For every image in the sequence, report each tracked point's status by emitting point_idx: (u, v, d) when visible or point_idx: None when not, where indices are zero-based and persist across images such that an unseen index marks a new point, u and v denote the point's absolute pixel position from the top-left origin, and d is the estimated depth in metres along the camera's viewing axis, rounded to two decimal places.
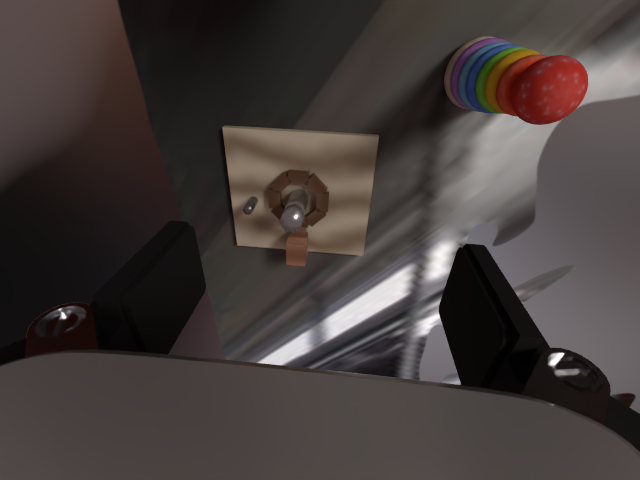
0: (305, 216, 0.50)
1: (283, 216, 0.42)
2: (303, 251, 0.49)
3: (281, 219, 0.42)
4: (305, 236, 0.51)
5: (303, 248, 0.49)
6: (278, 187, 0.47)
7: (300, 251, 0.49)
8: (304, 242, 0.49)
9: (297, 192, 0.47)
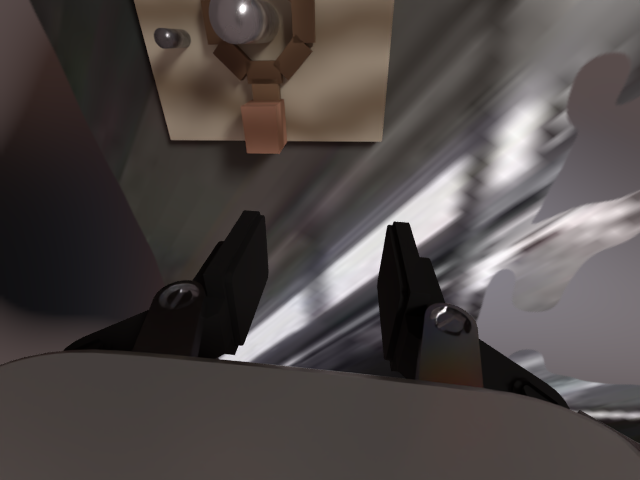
0: (275, 60, 0.28)
1: (214, 0, 0.20)
2: (273, 120, 0.27)
3: (211, 9, 0.20)
4: (278, 101, 0.29)
5: (273, 113, 0.27)
6: None
7: (268, 120, 0.27)
8: (275, 104, 0.27)
9: None
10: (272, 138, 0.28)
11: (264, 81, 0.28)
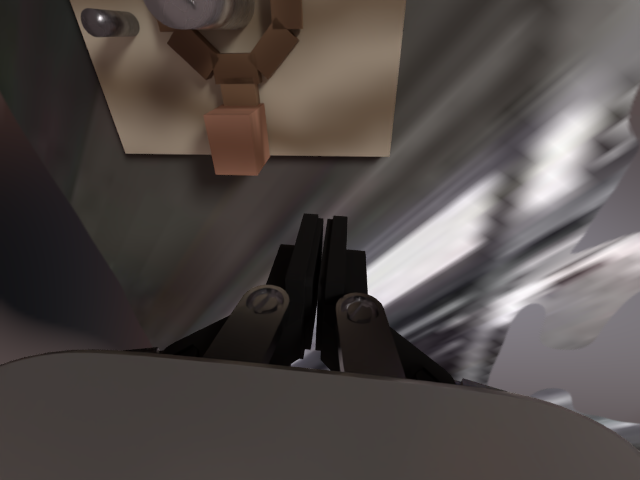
0: None
1: None
2: (248, 133, 0.20)
3: None
4: (255, 106, 0.22)
5: (246, 124, 0.20)
6: None
7: (240, 133, 0.20)
8: (249, 112, 0.21)
9: None
10: (247, 156, 0.21)
11: (236, 80, 0.22)
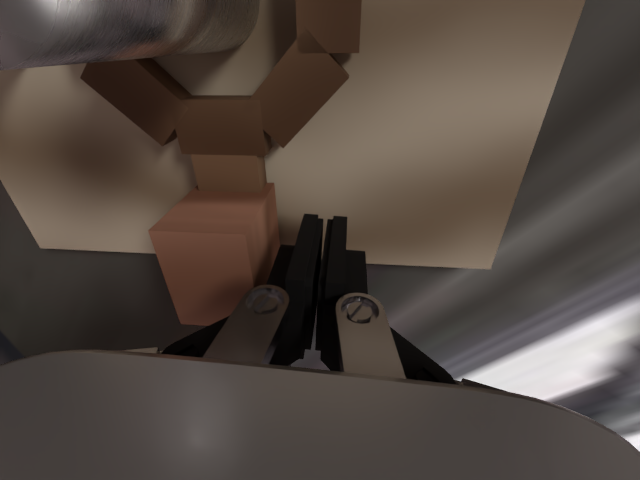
0: (250, 96, 0.10)
1: None
2: (242, 265, 0.10)
3: None
4: (259, 196, 0.11)
5: (240, 250, 0.10)
6: None
7: (227, 264, 0.10)
8: (247, 220, 0.10)
9: None
10: None
11: (222, 149, 0.11)
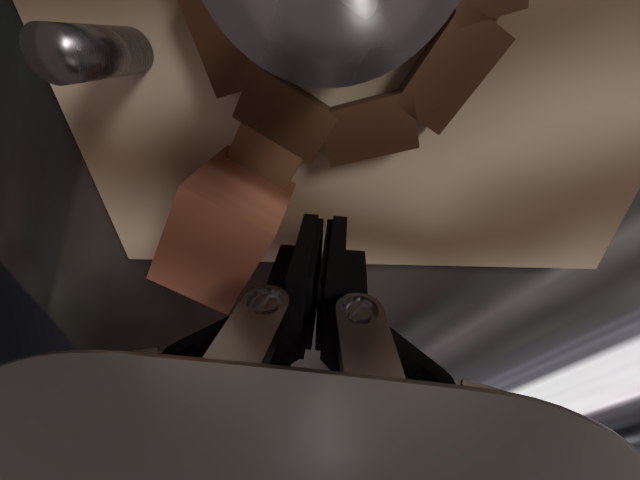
0: (328, 107, 0.10)
1: None
2: (253, 259, 0.10)
3: None
4: (284, 195, 0.11)
5: (260, 246, 0.10)
6: None
7: (239, 251, 0.10)
8: (275, 219, 0.10)
9: None
10: (227, 285, 0.11)
11: (275, 136, 0.11)
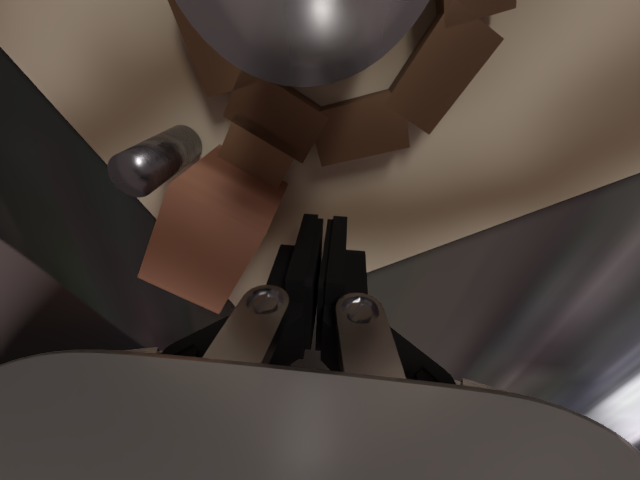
0: (318, 107, 0.10)
1: None
2: (243, 258, 0.10)
3: None
4: (275, 194, 0.11)
5: (250, 245, 0.10)
6: None
7: (229, 250, 0.10)
8: (265, 218, 0.10)
9: None
10: (218, 284, 0.11)
11: (266, 136, 0.11)
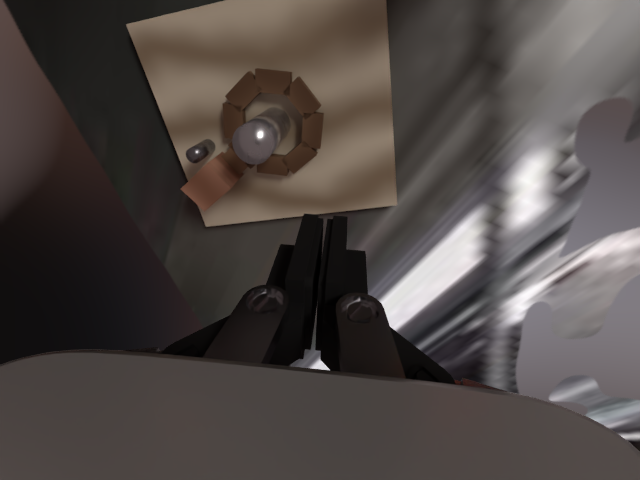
0: None
1: (236, 135, 0.23)
2: (221, 193, 0.30)
3: (234, 142, 0.23)
4: (237, 176, 0.32)
5: (225, 189, 0.30)
6: (265, 83, 0.27)
7: (217, 189, 0.30)
8: (232, 183, 0.30)
9: (267, 109, 0.28)
10: (209, 200, 0.30)
11: None
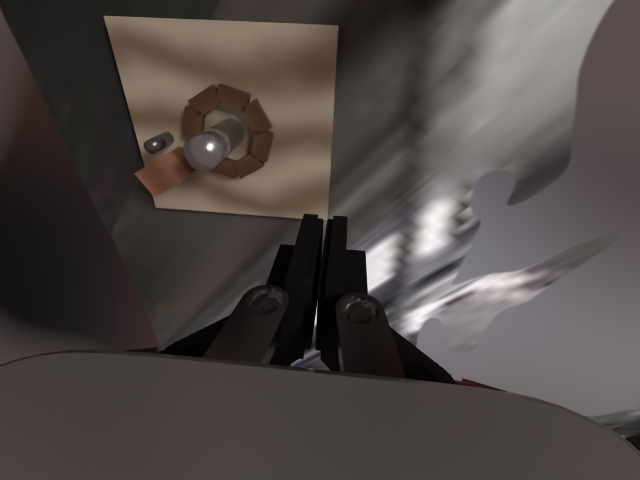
0: None
1: (188, 144, 0.27)
2: (171, 184, 0.33)
3: (185, 149, 0.27)
4: (190, 171, 0.35)
5: (175, 182, 0.33)
6: (225, 98, 0.31)
7: (168, 180, 0.33)
8: (183, 177, 0.34)
9: (224, 120, 0.32)
10: (159, 188, 0.34)
11: None
